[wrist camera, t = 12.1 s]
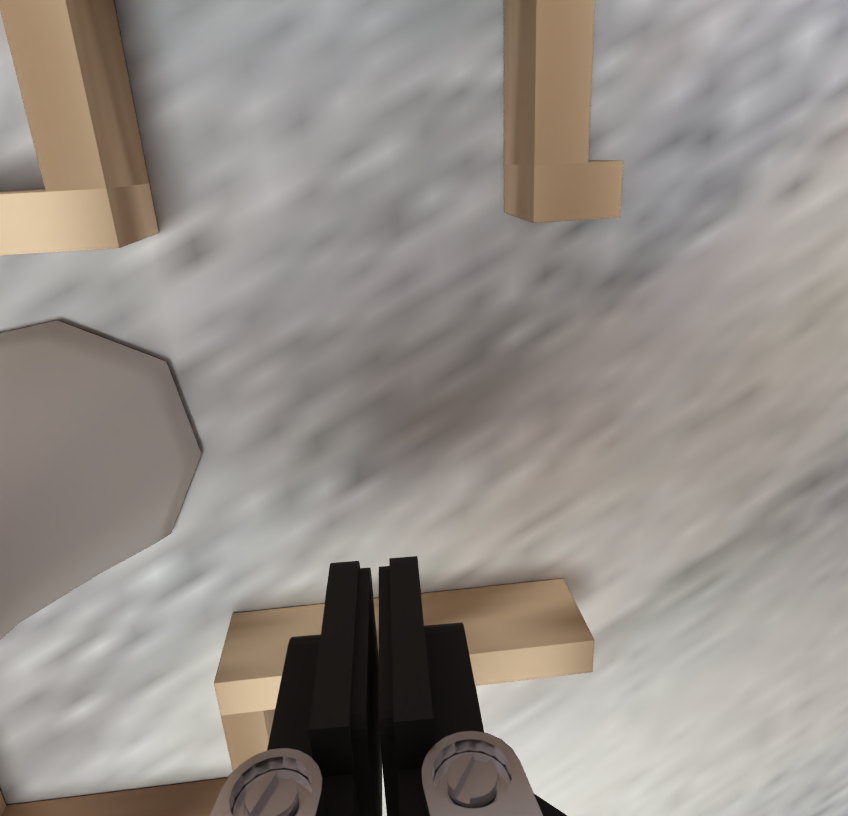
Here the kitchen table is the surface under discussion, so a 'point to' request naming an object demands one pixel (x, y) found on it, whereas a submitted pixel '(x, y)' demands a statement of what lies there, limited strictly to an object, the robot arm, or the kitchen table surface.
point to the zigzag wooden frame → (135, 220)
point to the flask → (82, 461)
